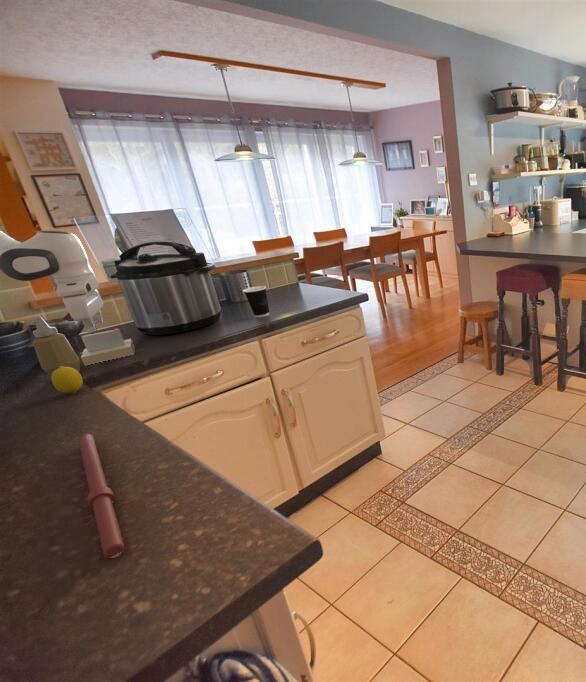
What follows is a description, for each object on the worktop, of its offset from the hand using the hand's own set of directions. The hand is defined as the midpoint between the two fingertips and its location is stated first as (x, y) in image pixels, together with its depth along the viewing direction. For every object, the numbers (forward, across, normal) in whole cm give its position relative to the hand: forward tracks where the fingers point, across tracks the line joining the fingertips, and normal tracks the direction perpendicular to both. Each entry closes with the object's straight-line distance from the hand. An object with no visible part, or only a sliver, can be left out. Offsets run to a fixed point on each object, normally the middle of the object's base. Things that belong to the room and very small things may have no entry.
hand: (96, 327), depth 137 cm
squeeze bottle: (+10, +10, -8) cm, 17 cm away
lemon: (+10, +29, -3) cm, 31 cm away
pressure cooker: (+10, -23, +19) cm, 32 cm away
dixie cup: (+9, -13, +45) cm, 48 cm away
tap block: (+10, 0, 0) cm, 10 cm away
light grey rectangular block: (+7, 0, 0) cm, 7 cm away
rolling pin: (+10, +88, +13) cm, 89 cm away
